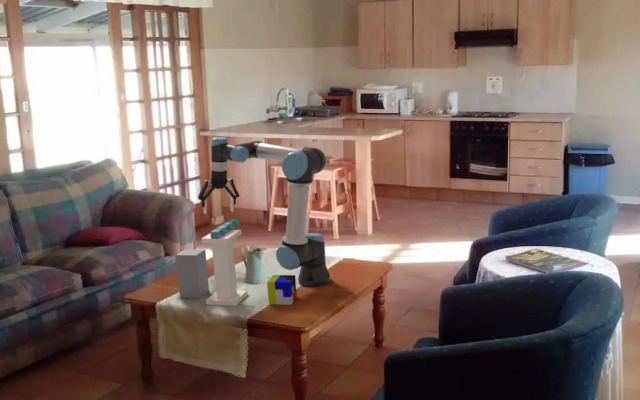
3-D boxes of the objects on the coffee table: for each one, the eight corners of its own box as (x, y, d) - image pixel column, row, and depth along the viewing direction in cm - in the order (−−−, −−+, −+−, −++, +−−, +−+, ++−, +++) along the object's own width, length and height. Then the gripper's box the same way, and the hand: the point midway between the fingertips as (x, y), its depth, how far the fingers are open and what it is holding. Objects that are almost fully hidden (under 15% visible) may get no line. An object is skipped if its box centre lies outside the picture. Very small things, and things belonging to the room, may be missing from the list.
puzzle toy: (291, 304, 298) (289, 282, 296) (268, 304, 300) (267, 282, 298) (296, 296, 307) (295, 275, 305) (274, 296, 309) (273, 275, 308)
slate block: (189, 290, 325) (185, 249, 321) (209, 291, 322) (205, 249, 319) (179, 297, 315) (175, 255, 312) (200, 298, 313) (196, 255, 309)
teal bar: (233, 224, 320) (233, 218, 320) (239, 224, 320) (239, 218, 319) (211, 238, 296) (210, 231, 295) (217, 238, 295) (217, 231, 295)
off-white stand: (219, 293, 318) (214, 229, 312) (248, 294, 315) (243, 229, 309) (205, 305, 303) (199, 238, 297) (235, 306, 299) (229, 238, 294)
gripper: (241, 166, 340) (240, 208, 346) (191, 169, 330) (191, 212, 336) (246, 170, 334) (245, 212, 340) (195, 172, 323) (195, 216, 329)
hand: (218, 212), depth 338 cm, fingers open, 13 cm apart
